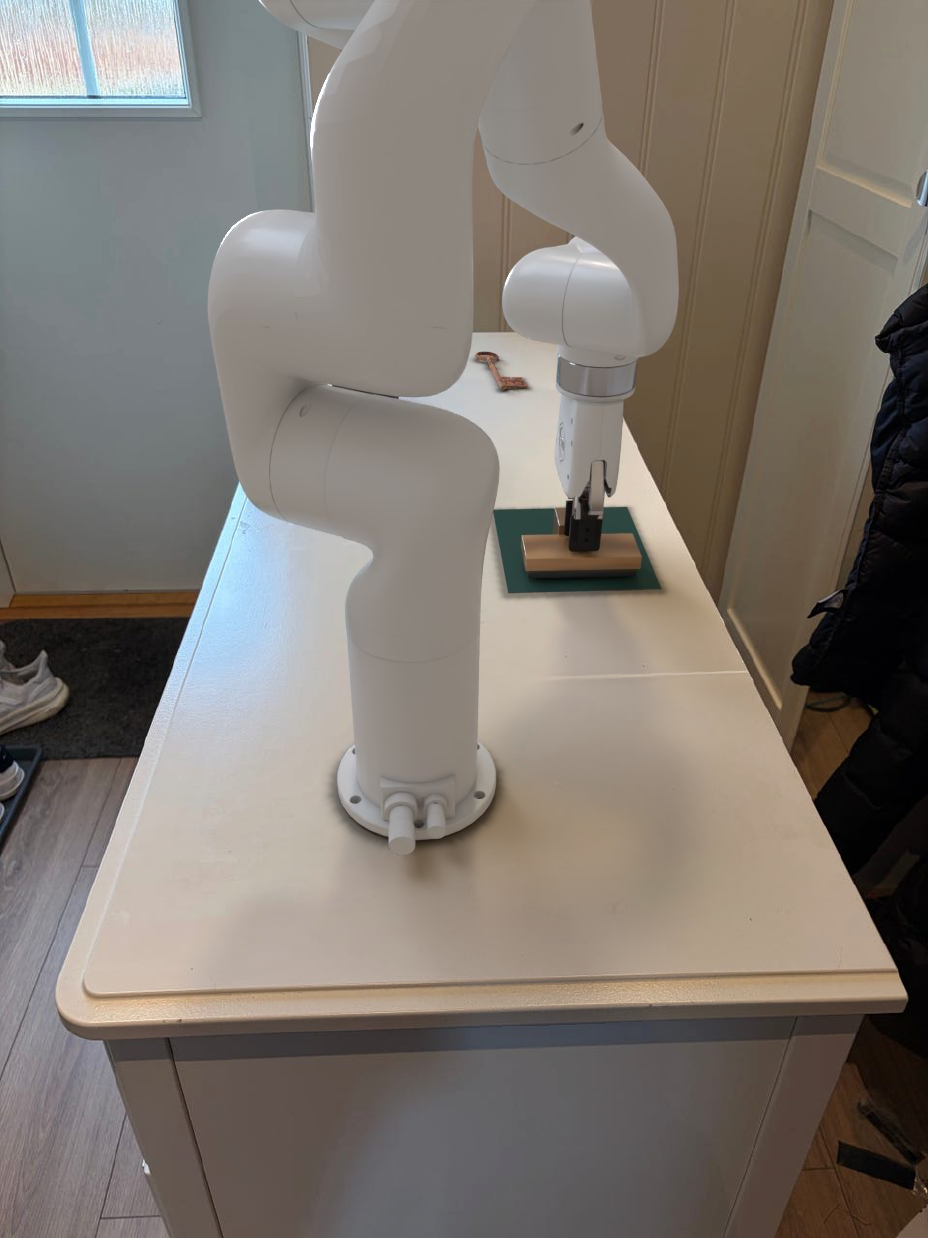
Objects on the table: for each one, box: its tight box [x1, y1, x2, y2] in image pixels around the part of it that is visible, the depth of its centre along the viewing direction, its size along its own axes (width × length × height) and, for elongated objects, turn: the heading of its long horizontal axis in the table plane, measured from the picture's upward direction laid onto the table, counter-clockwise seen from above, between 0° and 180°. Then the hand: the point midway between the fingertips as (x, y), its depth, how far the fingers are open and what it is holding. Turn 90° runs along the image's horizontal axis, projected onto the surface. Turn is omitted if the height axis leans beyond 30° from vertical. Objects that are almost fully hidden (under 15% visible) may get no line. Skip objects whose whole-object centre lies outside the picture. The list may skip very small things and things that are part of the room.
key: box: [474, 351, 528, 391], centre depth 153 cm, size 6×1×15 cm
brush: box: [521, 497, 642, 578], centre depth 103 cm, size 5×12×8 cm, turn 93°
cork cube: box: [553, 507, 566, 535], centre depth 108 cm, size 4×4×4 cm
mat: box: [493, 506, 662, 594], centre depth 109 cm, size 18×16×1 cm
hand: (581, 541), depth 103 cm, fingers closed on brush, 2 cm apart
